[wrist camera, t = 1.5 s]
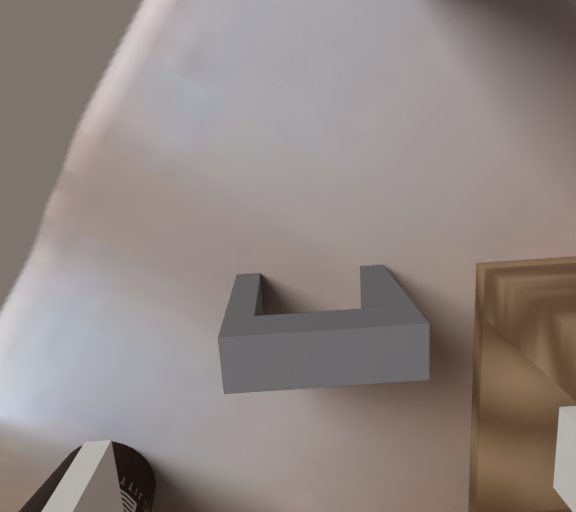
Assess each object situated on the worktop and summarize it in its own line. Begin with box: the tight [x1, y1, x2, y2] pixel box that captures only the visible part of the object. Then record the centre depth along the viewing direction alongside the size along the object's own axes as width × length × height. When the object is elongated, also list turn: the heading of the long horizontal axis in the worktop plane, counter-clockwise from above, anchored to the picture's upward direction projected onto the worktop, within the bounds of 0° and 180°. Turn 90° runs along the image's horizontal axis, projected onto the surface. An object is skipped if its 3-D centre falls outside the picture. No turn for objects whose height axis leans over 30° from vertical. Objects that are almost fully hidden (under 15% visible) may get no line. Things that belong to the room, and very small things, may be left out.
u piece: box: [218, 265, 430, 394], centre depth 25 cm, size 9×3×9 cm, turn 94°
